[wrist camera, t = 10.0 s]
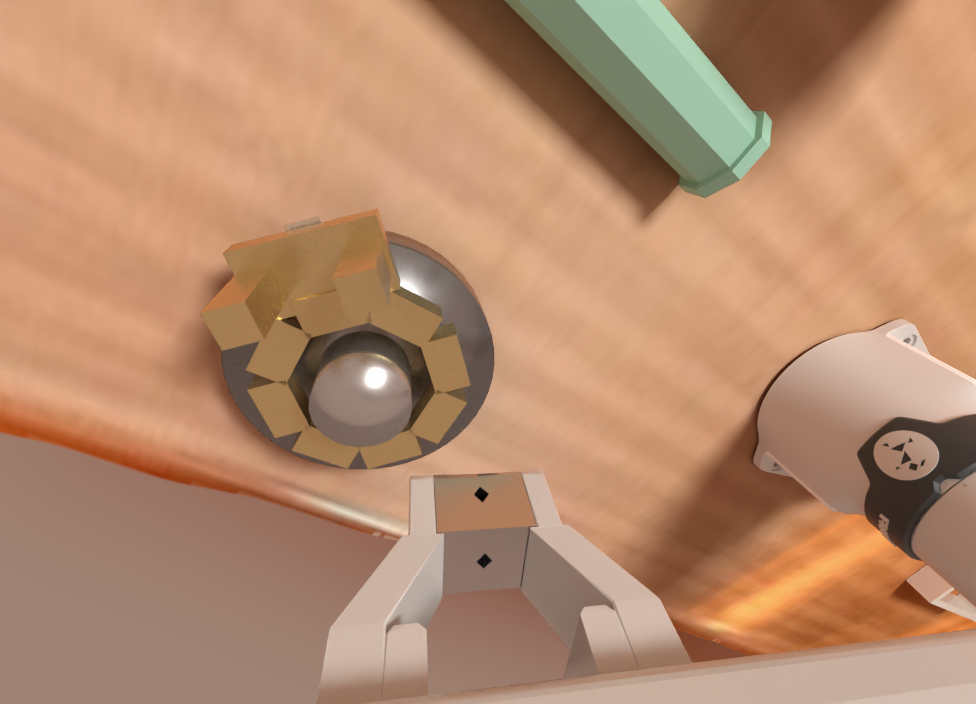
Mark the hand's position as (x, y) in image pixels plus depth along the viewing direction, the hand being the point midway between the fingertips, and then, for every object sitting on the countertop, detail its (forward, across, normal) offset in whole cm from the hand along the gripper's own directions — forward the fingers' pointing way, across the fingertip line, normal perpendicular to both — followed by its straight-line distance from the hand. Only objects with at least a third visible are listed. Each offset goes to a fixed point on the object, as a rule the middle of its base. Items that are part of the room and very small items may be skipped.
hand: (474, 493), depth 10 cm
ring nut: (+20, +5, +7) cm, 22 cm away
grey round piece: (+23, +5, +8) cm, 25 cm away
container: (+24, -8, -13) cm, 28 cm away
